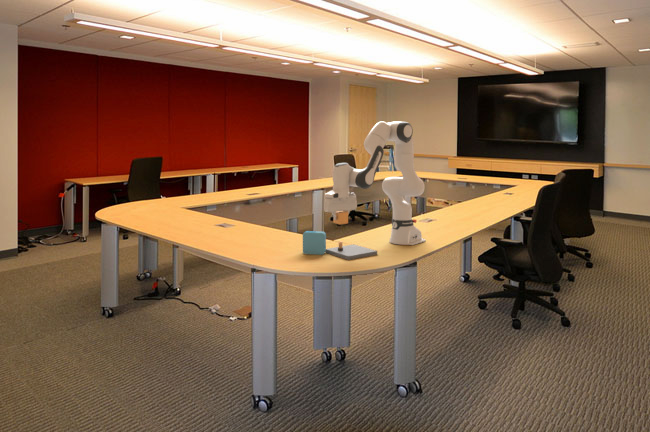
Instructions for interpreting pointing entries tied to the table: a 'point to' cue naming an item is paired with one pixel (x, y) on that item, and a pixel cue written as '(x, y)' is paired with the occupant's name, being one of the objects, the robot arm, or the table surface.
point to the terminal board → (350, 251)
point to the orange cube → (341, 217)
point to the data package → (314, 242)
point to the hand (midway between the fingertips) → (340, 219)
